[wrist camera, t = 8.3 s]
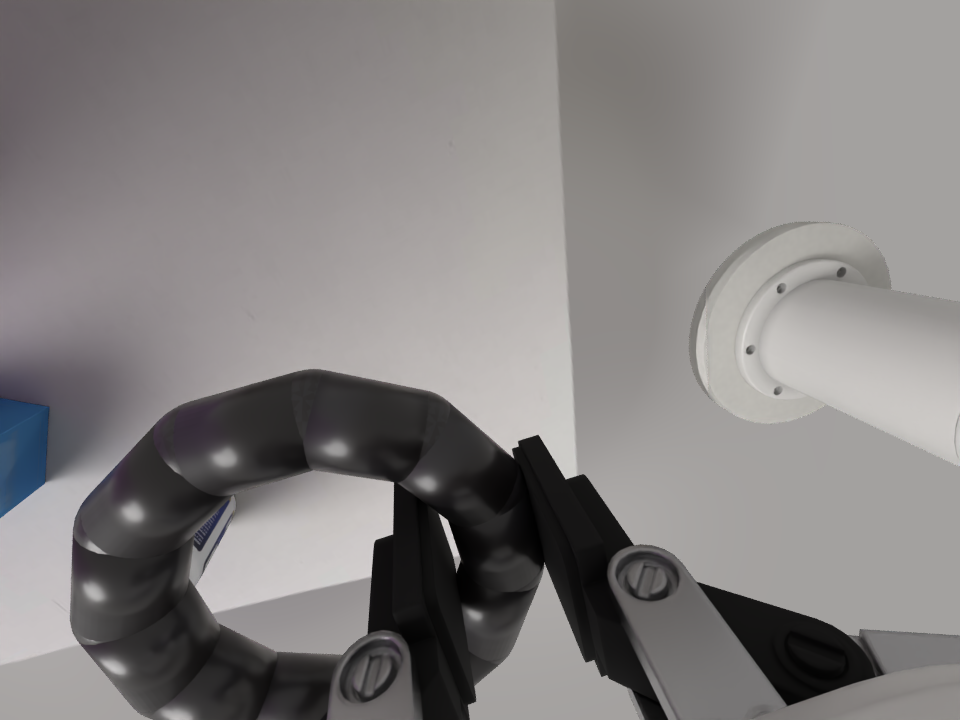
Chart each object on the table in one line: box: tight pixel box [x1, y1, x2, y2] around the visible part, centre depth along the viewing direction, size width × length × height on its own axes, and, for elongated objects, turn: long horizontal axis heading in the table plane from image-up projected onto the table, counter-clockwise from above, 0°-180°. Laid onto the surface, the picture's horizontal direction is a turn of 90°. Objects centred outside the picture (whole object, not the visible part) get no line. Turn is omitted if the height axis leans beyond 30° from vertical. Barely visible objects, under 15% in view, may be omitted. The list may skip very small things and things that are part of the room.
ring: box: [70, 369, 544, 720], centre depth 10 cm, size 10×10×2 cm
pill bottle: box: [189, 495, 236, 586], centre depth 29 cm, size 5×5×10 cm
